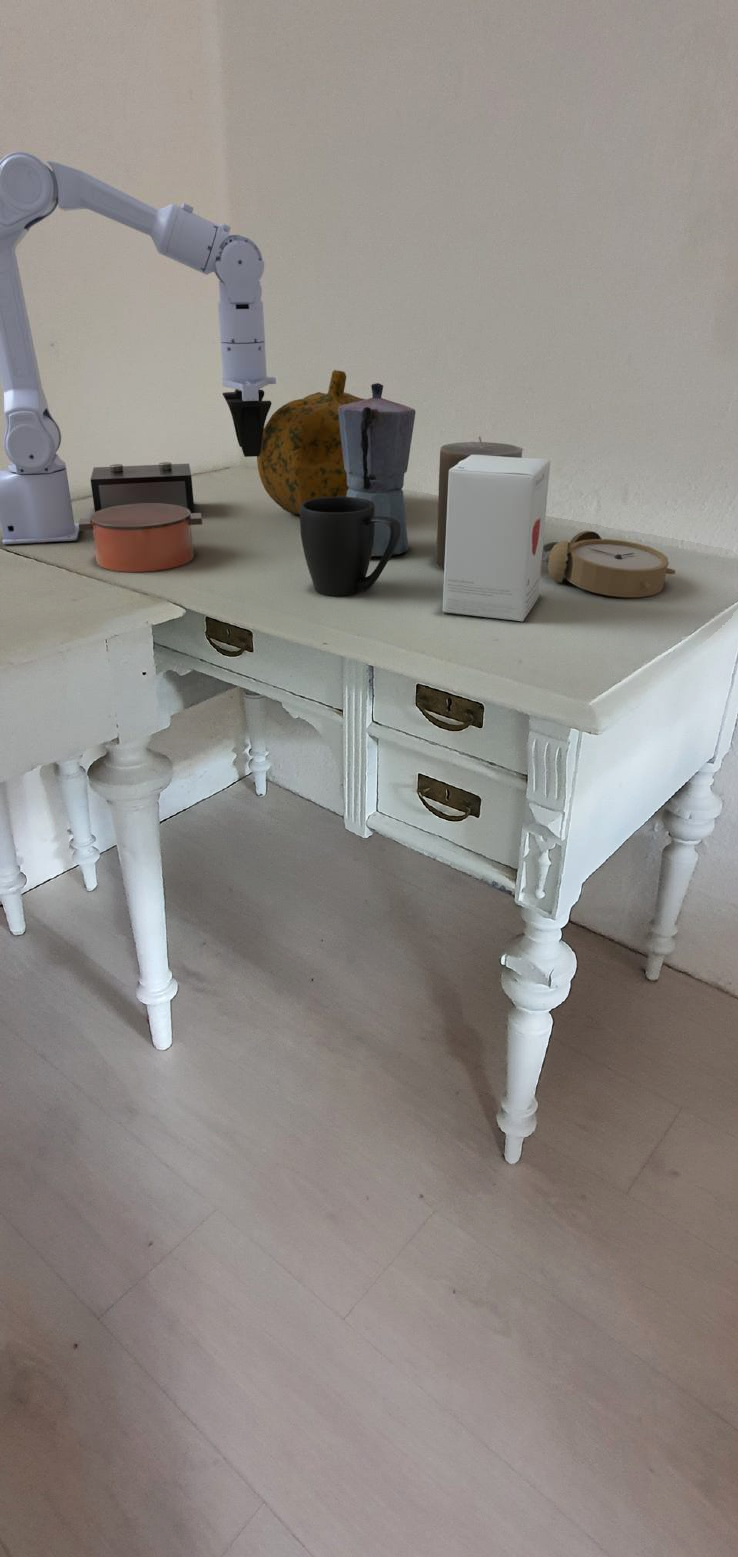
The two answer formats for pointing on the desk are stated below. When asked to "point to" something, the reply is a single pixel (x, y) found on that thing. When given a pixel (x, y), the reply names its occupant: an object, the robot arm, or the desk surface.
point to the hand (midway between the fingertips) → (249, 451)
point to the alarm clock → (607, 565)
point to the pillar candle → (448, 459)
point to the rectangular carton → (495, 536)
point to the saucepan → (142, 536)
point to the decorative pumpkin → (305, 448)
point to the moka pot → (378, 459)
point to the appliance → (142, 485)
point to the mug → (342, 543)
